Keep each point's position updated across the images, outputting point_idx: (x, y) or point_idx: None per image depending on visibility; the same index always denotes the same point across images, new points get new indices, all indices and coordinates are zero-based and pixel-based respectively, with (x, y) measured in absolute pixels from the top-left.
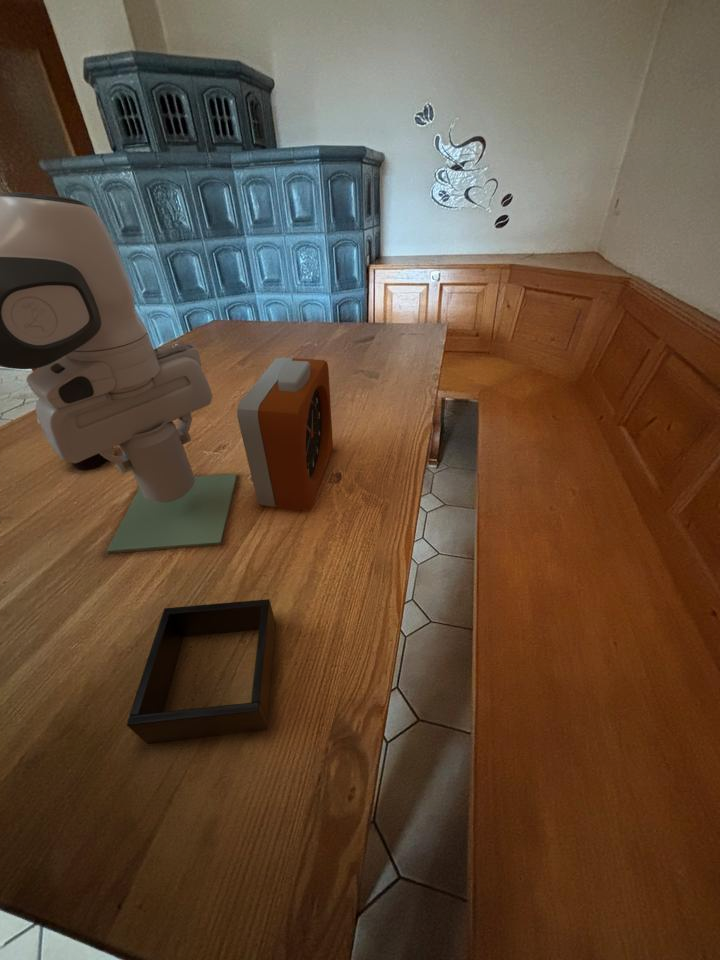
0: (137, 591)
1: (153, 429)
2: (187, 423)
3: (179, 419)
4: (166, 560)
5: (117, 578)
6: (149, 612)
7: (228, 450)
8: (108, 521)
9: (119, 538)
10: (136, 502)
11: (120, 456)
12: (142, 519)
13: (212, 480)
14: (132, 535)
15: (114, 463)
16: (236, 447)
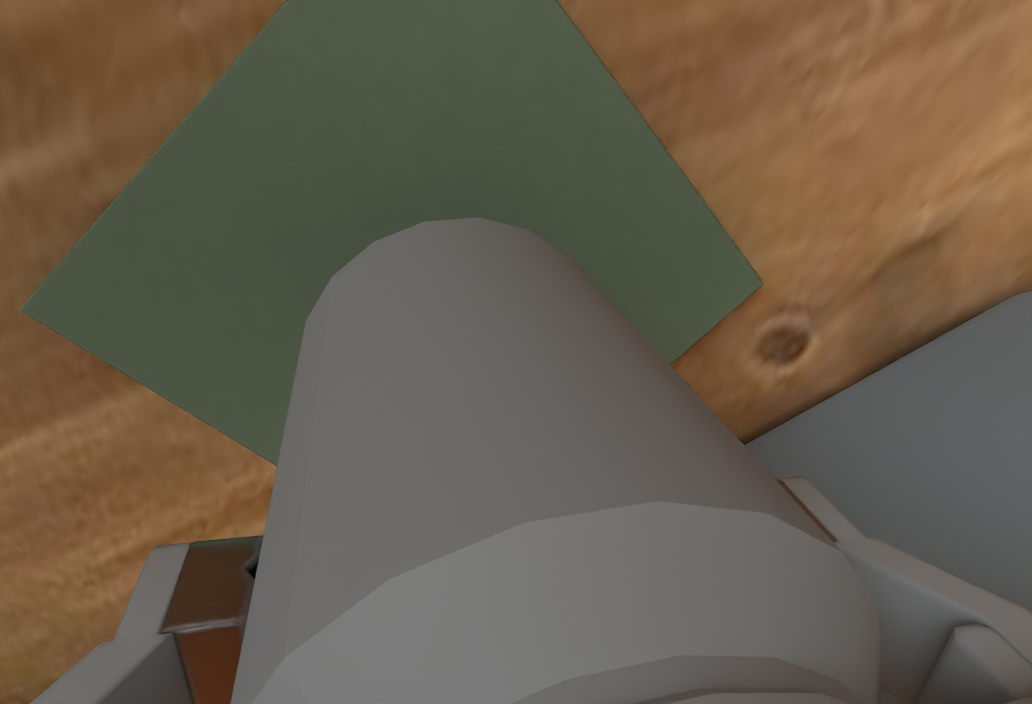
0: (99, 555)
1: (718, 436)
2: (903, 699)
3: (927, 690)
4: (248, 499)
5: (40, 460)
6: (111, 639)
7: (920, 31)
8: (86, 45)
9: (105, 277)
10: (289, 57)
11: (210, 633)
12: (259, 232)
13: (670, 236)
14: (171, 307)
15: (133, 593)
16: (959, 47)
